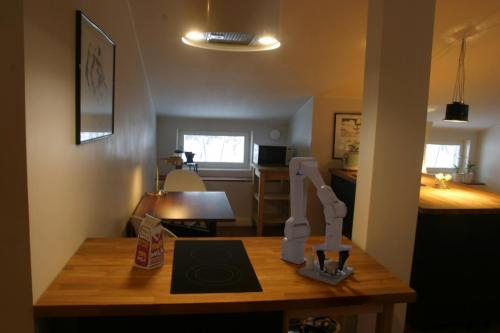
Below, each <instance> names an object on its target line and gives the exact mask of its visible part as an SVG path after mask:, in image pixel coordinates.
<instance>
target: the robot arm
mask: <svg viewBox="0 0 500 333" xmlns="http://www.w3.org/2000/svg"><path fill="white" fill-rule="evenodd" d="M288 165H289V168H288V169H289V172H288V175H289V178H290V181H289V182H290V216H289V218H288V219H287V220H285V225H284V232H283V233H284V238H283V239H282V242H281V253H280V257H279V259H280V260H283V261H286V262H290V263H293V264H295V265H301V264H302V263H305V262H306V259H307V257H305V252H306V248H305V247H306V241H307V240H308V238H309V237H310V234H311V228H310V225H309V223H310V222H309V220H308V219H307V218H306V217H305V215H304V214H305V213H304V212H305V209H304V207H305V206H304V203H305V202H304V180H305V178H306V177H308V178H309V179H310V181H311V182H312V184H313V185H314V187H315V188H316V189H317V191H316V195H317V197H318V198H319V201H320V202H321V204H322V206H323V213H324V220H325V222H326V223H325V224H326V225H325V238H324V243H322V244H313V245H312V252H314V253H315V254H316V256H317V260H319V264H320V270H321V271H323V270H324V260H325V256H326V255H325V254H324V251H327V252H335V253H336V252H338V261H339V263H338V269H339V270H340V271H342V269H343V266H344V264H345V262H346V260H347V258H348V259H349V257H350V253H352V252H353V246H352V245H348V244H347V245H345V244H342V235H343V234H342V231H343V221H344V220H343V219H344V218H345V217H346V215H347V213H348V207H347V206H346V203H344V201H341V200H340V199H339V198H338V197H337V196H336V194H335V192H334V190H333V189H332V187H331V186H330V185H326V183H325V181H324V179H323V176H322V175H321V173H320V170H319V169H318V167H319V163H318V162H317V160H316V158H315V157H314V156H310V157H308V156H307V157H306V156H303V157H301V156H299V157H298V156H294V157H292V158H291V159H290V161H289V162H288Z"/></svg>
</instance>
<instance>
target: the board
mask: <svg viewBox="0 0 500 333" xmlns="http://www.w3.org/2000/svg"><path fill="white" fill-rule="evenodd" d="M324 254H325V255H326V256H325V260H327V261H328V260H329V258H328V251H324ZM315 256H316V255H315V253H309V252H308V253H306V258H307V259H306V261H305V266H303V267H301V268H300V269H298V275H302V276H305V277H308V278H311V279H313V280H318V281H321V282H323V283H327V284H328V285H332V286H335V285H337V284H338V283H340V282H341V281H343V280H344V279H345V278H347V277H348V276H350V275H351V274H352V273H354V267H351V266H350V267H349V266H348V261H349V260H348V259H349V257H348V258H347V260H346V262H345V264H344V266H343V269H342V271H340V270H337V269H335V275H334V276H332V275H329V274H327V267H324V270H323V271H321V270H320V266H318V265H316V264H317V260H318V259H316V260H315ZM335 261H336V264H338V263H339V260H335Z"/></svg>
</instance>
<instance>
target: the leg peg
mask: <svg viewBox="0 0 500 333" xmlns="http://www.w3.org/2000/svg"><path fill="white" fill-rule="evenodd" d="M335 267H336V260H335V259H329V260H328V262H327V274H329V275H332V276H334V275H335Z"/></svg>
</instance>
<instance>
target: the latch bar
mask: <svg viewBox="0 0 500 333" xmlns="http://www.w3.org/2000/svg"><path fill="white" fill-rule="evenodd" d="M316 260H317V264H316V265H318V266H320V264H319V260H318V259H316ZM327 262H328V261H327V260H324V267H327ZM335 269H337V270H339V269H338V264H336V267H335Z"/></svg>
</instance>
